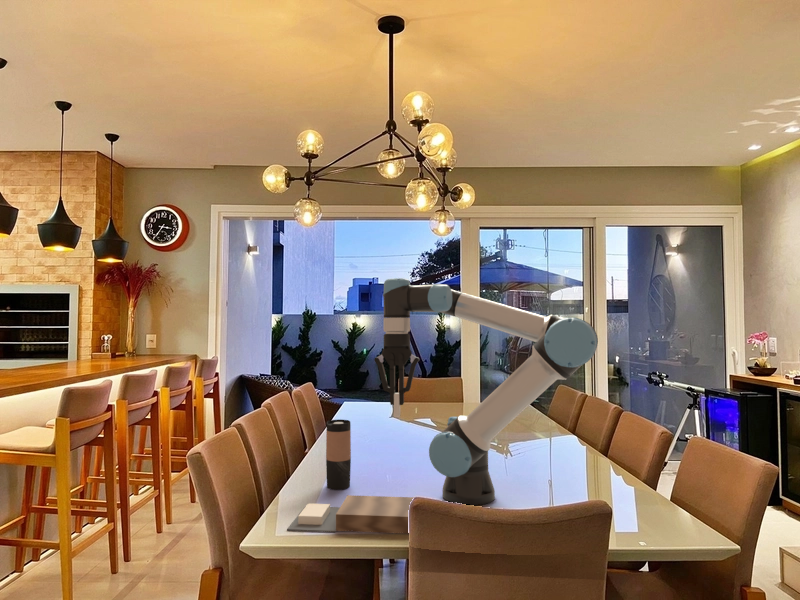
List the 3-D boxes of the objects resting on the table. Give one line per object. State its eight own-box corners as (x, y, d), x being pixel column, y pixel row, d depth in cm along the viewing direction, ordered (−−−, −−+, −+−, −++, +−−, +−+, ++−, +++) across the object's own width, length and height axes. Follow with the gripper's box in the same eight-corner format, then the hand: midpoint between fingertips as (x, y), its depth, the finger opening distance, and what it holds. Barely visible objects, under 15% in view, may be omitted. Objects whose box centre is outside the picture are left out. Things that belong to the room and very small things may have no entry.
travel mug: (351, 482, 165) (351, 419, 166) (350, 490, 157) (350, 423, 158) (327, 482, 165) (327, 419, 166) (324, 490, 157) (324, 424, 158)
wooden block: (421, 512, 138) (420, 497, 138) (417, 534, 124) (417, 517, 125) (347, 510, 140) (347, 495, 141) (335, 530, 126) (335, 514, 127)
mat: (348, 509, 141) (348, 507, 141) (334, 532, 125) (334, 530, 125) (305, 507, 143) (305, 506, 143) (286, 530, 127) (286, 529, 127)
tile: (308, 503, 139) (308, 511, 139) (298, 515, 130) (298, 523, 130) (330, 504, 138) (330, 511, 138) (321, 516, 129) (321, 524, 129)
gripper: (420, 332, 150) (420, 414, 149) (376, 332, 151) (376, 413, 150) (418, 333, 143) (419, 419, 142) (372, 333, 144) (372, 418, 143)
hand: (397, 416), depth 146 cm, fingers closed
